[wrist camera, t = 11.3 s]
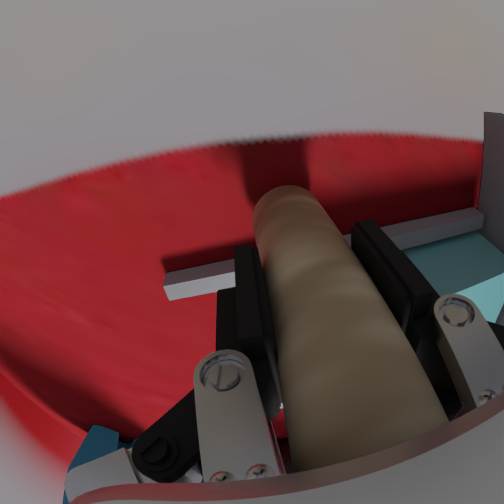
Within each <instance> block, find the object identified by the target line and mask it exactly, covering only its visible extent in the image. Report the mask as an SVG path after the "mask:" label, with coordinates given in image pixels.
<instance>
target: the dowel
mask: <svg viewBox="0 0 504 504" xmlns="http://www.w3.org/2000/svg"><path fill="white" fill-rule="evenodd" d="M252 221H253V228H254V234H255V240H256V246H257V247H258V251H259V256H260V260H261V265H262V270H263V275H264V281H265V287H266V292H267V298H268V304H269V309H270V315H271V321H272V326H273V332H274V338H275V344H276V349H277V355H278V361H277V372H278V379H279V385H280V391H281V397H282V403H283V410H284V416H285V422H286V428H287V435H288V441H289V447H290V454H291V460H292V466H293V473H297V472H303V471H308V470H312V469H317V468H322V467H326V466H330V465H334V464H338V463H342V462H346V461H349V460H353V459H356V458H360V457H363V456H366V455H369V454H372V453H376V452H379V451H382V450H384V449H387V448H390V447H393V446H396V445H398V444H401V443H403V442H406V441H409V440H411V439H413V438H416V437H418V436H421V435H423V434H425V433H428V432H430V431H432V430H434V429H436V428H439V427H441V426H443V425H445V424H447V423H449V420H448V418H447V416H446V414H445V411H444V409H443V407H442V405H441V403H440V401H439V399H438V397H437V395H436V393H435V391H434V389H433V387H432V385H431V383H430V381H429V379H428V377H427V375H426V373H425V371H424V369H423V367H422V365H421V363H420V362H419V360H418V358H417V356H416V354H415V352H414V350H413V349H412V347H411V345H410V343H409V341H408V340H407V338H406V336H405V334H404V333H403V331H402V329H401V327H400V326H399V324H398V322H397V320H396V319H395V317H394V315H393V314H392V312H391V310H390V309H389V307H388V305H387V304H386V302H385V300H384V299H383V297H382V295H381V294H380V292H379V291H378V289H377V287H376V286H375V284H374V283H373V281H372V279H371V278H370V276H369V275H368V273H367V272H366V270H365V268H364V267H363V265H362V264H361V262H360V261H359V259H358V258H357V256H356V255H355V253H354V252H353V250H352V249H351V247H350V246H349V244H348V243H347V241H346V240H345V238H344V237H343V235H342V234H341V233H340V231H339V230H338V228H337V227H336V225H335V224H334V223H333V221H332V220H331V218H330V217H329V215H328V214H327V213H326V211H325V210H324V208H323V207H322V206H321V204H320V203H319V202H318V200H317V199H316V198H315V196H314V195H313V194H312V193H311V192H309V191H308V190H306V189H304V188H302V187H299V186H294V185H285V186H280V187H276V188H274V189H272V190H270V191H268V192H267V193H266V194H264V195H263V196H262V197H261V199H260V200H259V201H258V203H257V204H256V206H255V208H254V212H253V218H252Z"/></svg>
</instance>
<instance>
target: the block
mask: <svg viewBox="0 0 504 504" xmlns="http://www.w3.org/2000/svg"><path fill="white" fill-rule="evenodd" d="M118 439H119V432H116V431H113V430H111V429H108V428H105V427H102V426H99V425H93V426H92V427H91V429H90V430H89V432H88V434H87V436H86V437H85V439H84V441H83V443H82V445H81V446H80V448H79V450H78V451H77V453H76V455H75V457H74V459H73V460H72V462H71V464H70V466H69V468H68V472H67V474H68V473H69V471H70V470H72V469H73V468H75V467H77V466H80V465H82V464H85V463H88V462H90V461H93V460H95V459H98V458H100V457H103V456H105V455H107V454H110V453H112V452H114V451H117V450H119V449H121V448H125V449H127V450H128V449H130V448H132V447H133V445H134V443H135V441H136V440H137V438H136V439H135V440H134V441H133V442H132V443H130V444H127V443H122V442H119V441H118ZM63 504H69V502H68V499H67V495H66V492H65V490H64V498H63Z"/></svg>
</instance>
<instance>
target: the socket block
mask: <svg viewBox="0 0 504 504" xmlns="http://www.w3.org/2000/svg"><path fill="white" fill-rule="evenodd" d="M400 251H402V252H404V253H405V254H406V255H407V256H408V258H409V259H410V260H411V261H412V262H413V264H414V265H415V266H416V267H417V268H418V269H419V271H420V272H421V273H422V274H423V276H424V277H425V278H426V279H427V281H428V282H429V283H430V284H431V286H432V287H433V288H434V289H435V291H436V292H437V293H438V294H439V296H440V297H441V296H444V295H446V294H459V295H463V296H465V297H467V298H469V299H470V300H472V301H473V302H474V303H475V304H476V306H477V307H478V308H479V310H480V312H481V313H482V315H483V316H484V318H485V319H486V321H489V322H493V323H495V322H496V320H497V317H498V315H499V313H500V311H501V308H502V306H503V303H504V254H503V253H502V252H501V251H499V250H498V249H497V248H496V247H495V246H494V245H493V244H491V243H490V242H489V241H488V240H487V239H486V238H484V237H483V236H482V235H481V234H479V233H478V232H477V231H476V230H474V231H470V232H467V233H463V234H460V235H456V236H452V237H449V238H445V239H441V240H437V241H434V242H430V243H426V244H422V245H418V246H415V247H411V248H407V249H403V250H400Z"/></svg>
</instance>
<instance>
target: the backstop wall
mask: <svg viewBox="0 0 504 504" xmlns="http://www.w3.org/2000/svg"><path fill="white" fill-rule="evenodd" d="M380 228H381V229H382V230H383V231H384V232H385V234H386V235H387V236H388V237H389V238H390V239H391V240H392V241H393V243H394V244H395V245H396V246H397V247H398V248H399V249H400V250H403V249H407V248H411V247H415V246H418V245H422V244H426V243H430V242H434V241H437V240H441V239H445V238H449V237H452V236H456V235H460V234H463V233H467V232H470V231H474V230H476V231H477V232H478V233H479V234H481V235H482V236H483V237H484V238H486V239H487V240H488V241H489V242H490V243H491V244H493V245H494V246H495V247H496V248H497V249H498V250H499V251H501V252H502V253H503V254H504V114H502V113H492V112H484V148H483V166H482V177H481V187H480V195H479V203H478V210H477V209H476V208H474V207H471V208H466V209H462V210H457V211H453V212H448V213H444V214H439V215H434V216H430V217H425V218H421V219H416V220H412V221H407V222H402V223H398V224H393V225H388V226H384V227H380ZM343 237H344V238H345V240H346V241H347V243H348V244H349V246H350V247H351V234H347V235H343ZM231 287H235V265H234V259H230V260H225V261H221V262H216V263H211V264H207V265H202V266H197V267H192V268H188V269H183V270H178V271H174V272H169V273H166V276H165V280H164V284H163V288H164V290H165V292H166V294H167V296H168V298H169V301H170V300H175V299H181V298H186V297H191V296H196V295H202V294H207V293H212V292H217V291H218V290H221V289H226V288H231ZM495 323H496V324H499V325H503V326H504V303H503V306H502V308H501V311H500V313H499V315H498V317H497V320H496V322H495ZM280 402H281V407H280V409H281V408H283V403H282V397H280Z"/></svg>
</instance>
